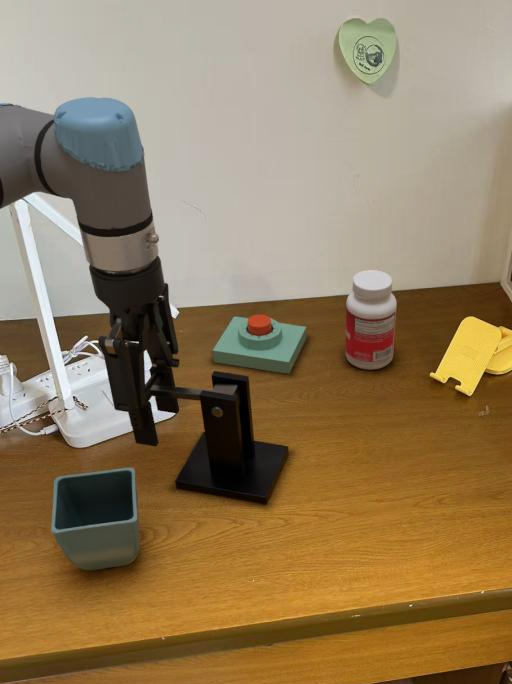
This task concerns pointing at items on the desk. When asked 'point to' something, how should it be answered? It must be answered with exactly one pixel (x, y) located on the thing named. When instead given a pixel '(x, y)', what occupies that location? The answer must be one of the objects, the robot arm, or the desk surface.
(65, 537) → the flower pot
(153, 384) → the lever
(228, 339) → the button box
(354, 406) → the desk surface
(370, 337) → the pill bottle
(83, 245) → the robot arm
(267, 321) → the button
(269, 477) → the bracket
